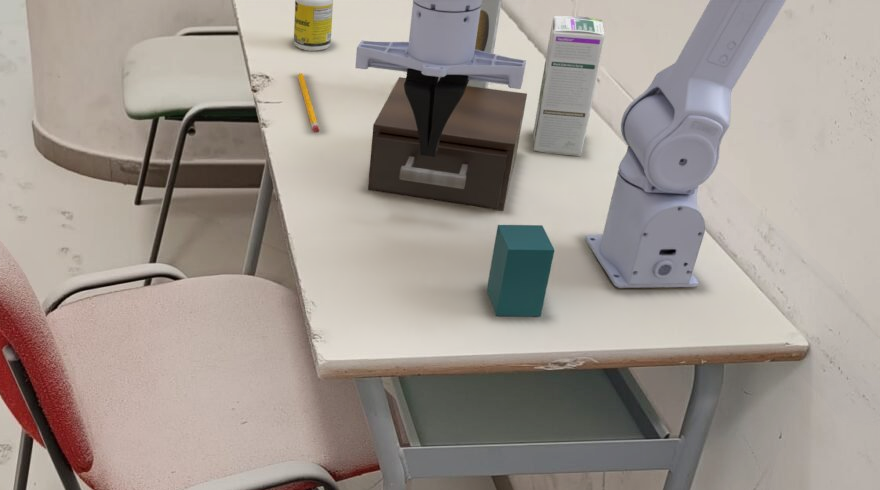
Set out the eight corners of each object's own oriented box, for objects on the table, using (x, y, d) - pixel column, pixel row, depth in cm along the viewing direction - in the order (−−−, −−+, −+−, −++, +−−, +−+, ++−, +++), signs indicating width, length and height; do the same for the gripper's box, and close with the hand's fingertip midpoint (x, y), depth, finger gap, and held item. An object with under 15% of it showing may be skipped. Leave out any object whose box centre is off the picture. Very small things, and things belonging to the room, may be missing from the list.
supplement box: (407, 108, 128) (422, -28, 119) (416, 83, 136) (431, -47, 126) (483, 117, 127) (504, -20, 117) (488, 91, 134) (508, -40, 124)
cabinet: (503, 211, 106) (515, 144, 102) (367, 190, 109) (373, 124, 105) (516, 155, 118) (527, 93, 113) (393, 138, 121) (399, 76, 116)
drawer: (493, 226, 101) (502, 173, 98) (362, 206, 104) (367, 154, 101) (510, 155, 115) (518, 107, 112) (395, 139, 118) (399, 92, 115)
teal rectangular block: (540, 316, 90) (554, 249, 86) (496, 316, 89) (508, 249, 86) (529, 290, 93) (542, 225, 89) (486, 289, 93) (497, 224, 89)
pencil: (312, 132, 122) (313, 127, 121) (297, 78, 136) (298, 73, 136) (319, 132, 122) (319, 127, 121) (303, 78, 137) (303, 73, 136)
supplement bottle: (287, 41, 148) (289, -27, 143) (320, 37, 150) (323, -31, 145) (303, 53, 144) (306, -17, 139) (337, 49, 146) (341, -20, 141)
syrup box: (582, 157, 118) (609, 33, 109) (530, 151, 119) (553, 28, 110) (580, 137, 122) (605, 18, 114) (530, 132, 123) (552, 13, 115)
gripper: (352, 6, 83) (342, 157, 91) (530, 26, 80) (503, 181, 88) (370, -17, 89) (359, 128, 97) (537, 1, 86) (511, 149, 94)
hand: (428, 151), depth 93 cm, fingers closed
